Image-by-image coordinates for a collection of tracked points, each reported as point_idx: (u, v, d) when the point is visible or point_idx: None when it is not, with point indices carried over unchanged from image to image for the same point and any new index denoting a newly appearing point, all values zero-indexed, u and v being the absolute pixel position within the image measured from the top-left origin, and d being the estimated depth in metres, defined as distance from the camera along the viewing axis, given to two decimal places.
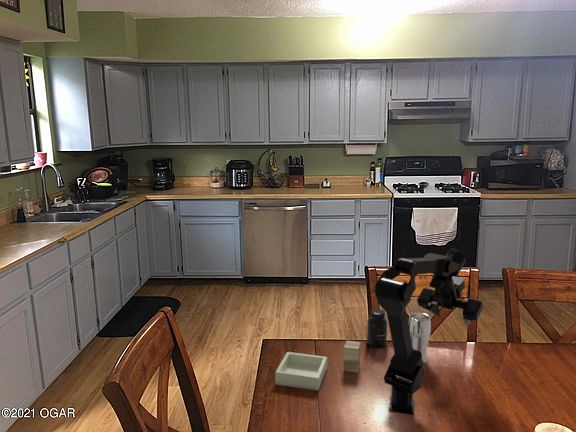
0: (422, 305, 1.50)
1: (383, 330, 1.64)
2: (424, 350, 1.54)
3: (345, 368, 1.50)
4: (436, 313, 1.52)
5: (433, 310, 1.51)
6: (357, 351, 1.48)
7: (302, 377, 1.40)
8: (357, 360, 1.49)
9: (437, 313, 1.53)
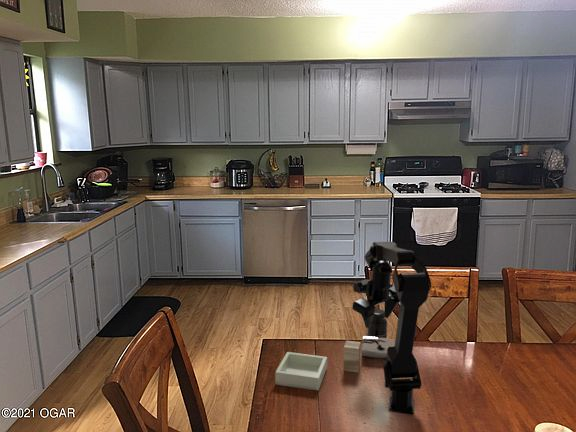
0: (370, 312, 1.45)
1: (383, 330, 1.64)
2: None
3: (345, 368, 1.50)
4: None
5: None
6: (357, 351, 1.48)
7: (302, 377, 1.40)
8: (357, 360, 1.49)
9: None
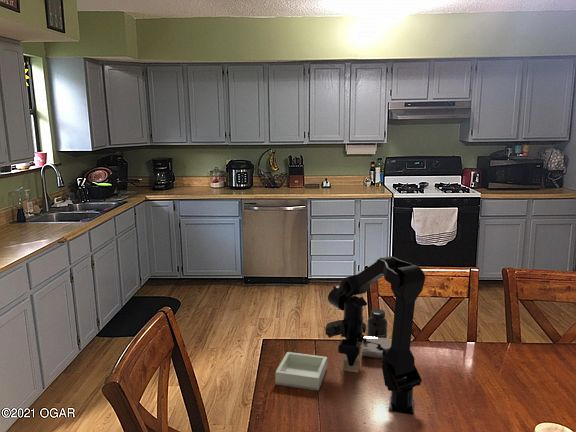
0: (359, 350, 1.42)
1: (383, 330, 1.64)
2: None
3: (345, 368, 1.50)
4: None
5: None
6: None
7: (302, 377, 1.40)
8: (357, 360, 1.49)
9: None
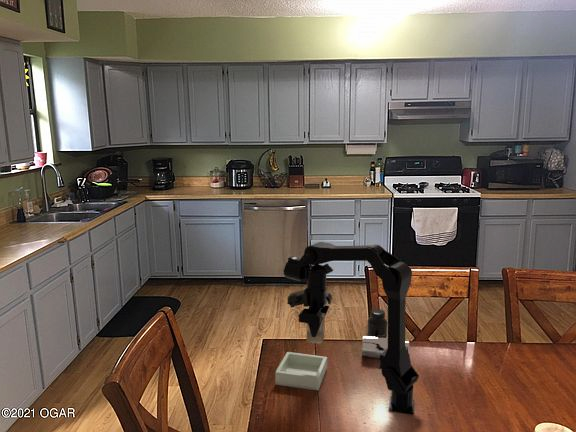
0: (320, 319, 1.37)
1: (383, 330, 1.64)
2: None
3: (308, 339, 1.45)
4: None
5: None
6: None
7: (302, 377, 1.40)
8: (320, 331, 1.43)
9: None
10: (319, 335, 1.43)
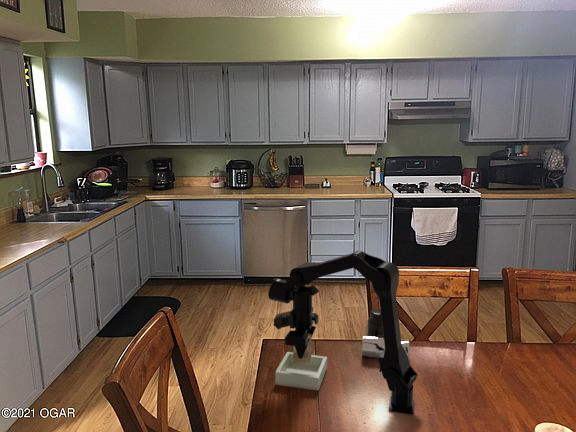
0: (306, 341, 1.36)
1: None
2: None
3: (295, 361, 1.44)
4: None
5: None
6: None
7: (302, 377, 1.40)
8: (306, 352, 1.43)
9: None
10: (306, 356, 1.43)
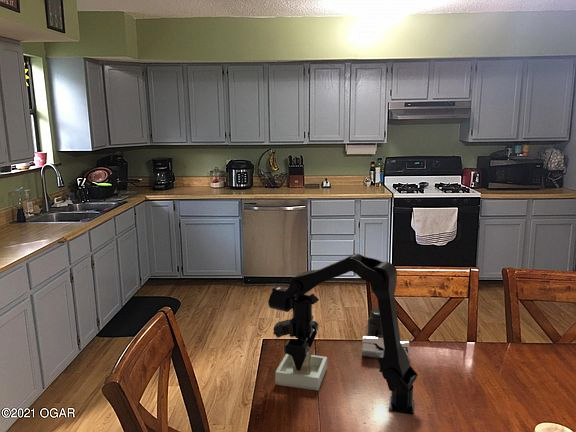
0: (306, 350, 1.37)
1: None
2: None
3: None
4: None
5: None
6: (306, 356, 1.43)
7: (302, 377, 1.40)
8: (306, 366, 1.44)
9: None
10: (305, 370, 1.44)
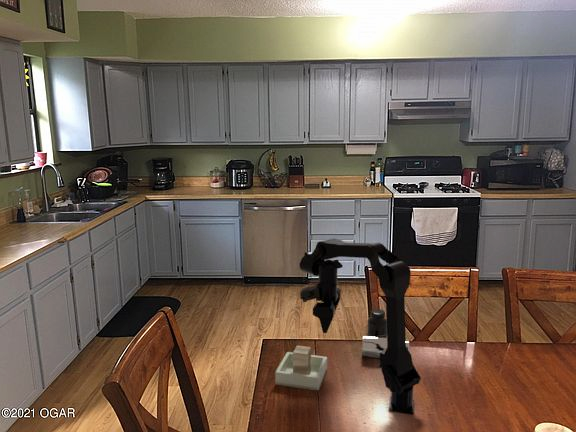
0: (334, 312, 1.42)
1: (383, 330, 1.64)
2: None
3: None
4: None
5: None
6: (306, 356, 1.43)
7: (302, 377, 1.40)
8: (306, 366, 1.44)
9: None
10: (305, 370, 1.44)
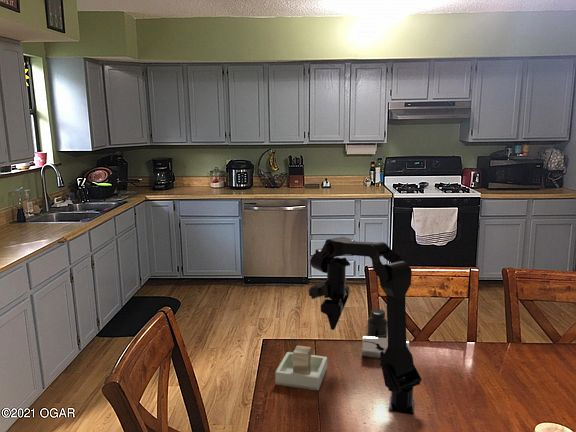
0: (341, 309, 1.44)
1: (383, 330, 1.64)
2: None
3: None
4: None
5: None
6: (306, 356, 1.43)
7: (302, 377, 1.40)
8: (306, 366, 1.44)
9: None
10: (305, 370, 1.44)
